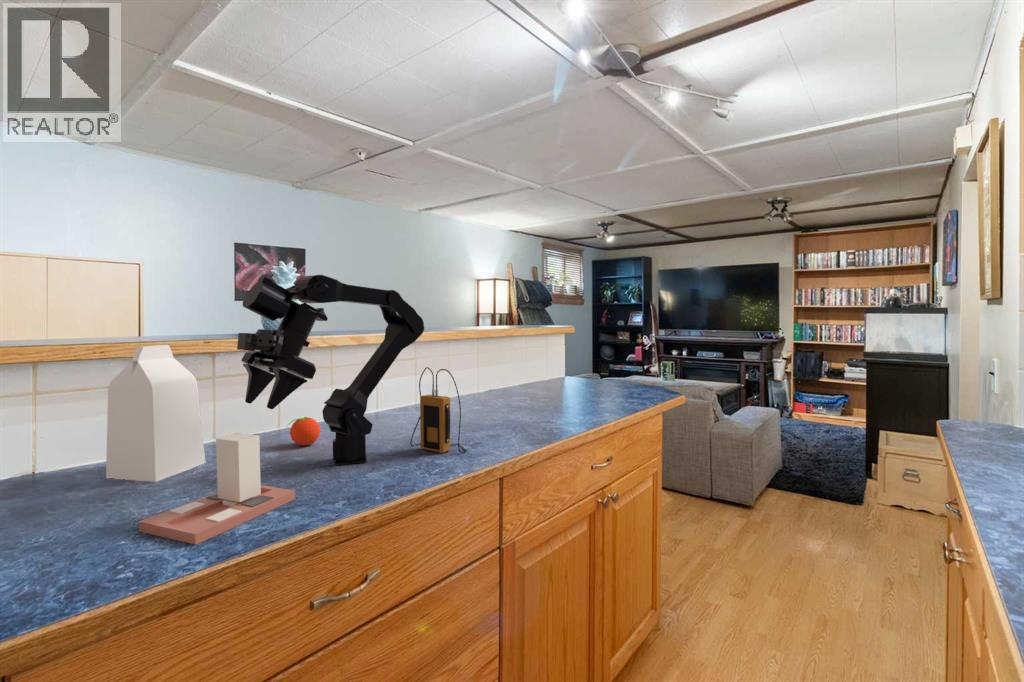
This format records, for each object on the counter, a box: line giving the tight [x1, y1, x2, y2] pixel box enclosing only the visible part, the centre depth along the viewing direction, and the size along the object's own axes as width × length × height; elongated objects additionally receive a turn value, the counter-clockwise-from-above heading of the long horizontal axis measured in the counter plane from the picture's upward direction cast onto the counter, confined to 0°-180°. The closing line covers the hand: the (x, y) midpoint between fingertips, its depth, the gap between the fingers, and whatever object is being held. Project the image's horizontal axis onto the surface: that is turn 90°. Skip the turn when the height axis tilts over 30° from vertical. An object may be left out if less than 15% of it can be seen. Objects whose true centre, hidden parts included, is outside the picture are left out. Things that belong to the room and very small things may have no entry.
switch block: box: [138, 484, 296, 546], centre depth 78 cm, size 18×12×2 cm, turn 159°
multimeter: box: [410, 366, 468, 454], centre depth 117 cm, size 15×10×20 cm
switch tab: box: [215, 432, 262, 507], centre depth 80 cm, size 4×5×11 cm
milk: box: [105, 344, 206, 483], centre depth 99 cm, size 12×12×26 cm
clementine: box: [286, 416, 321, 447], centre depth 119 cm, size 8×7×7 cm
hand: (258, 405), depth 91 cm, fingers open, 9 cm apart
